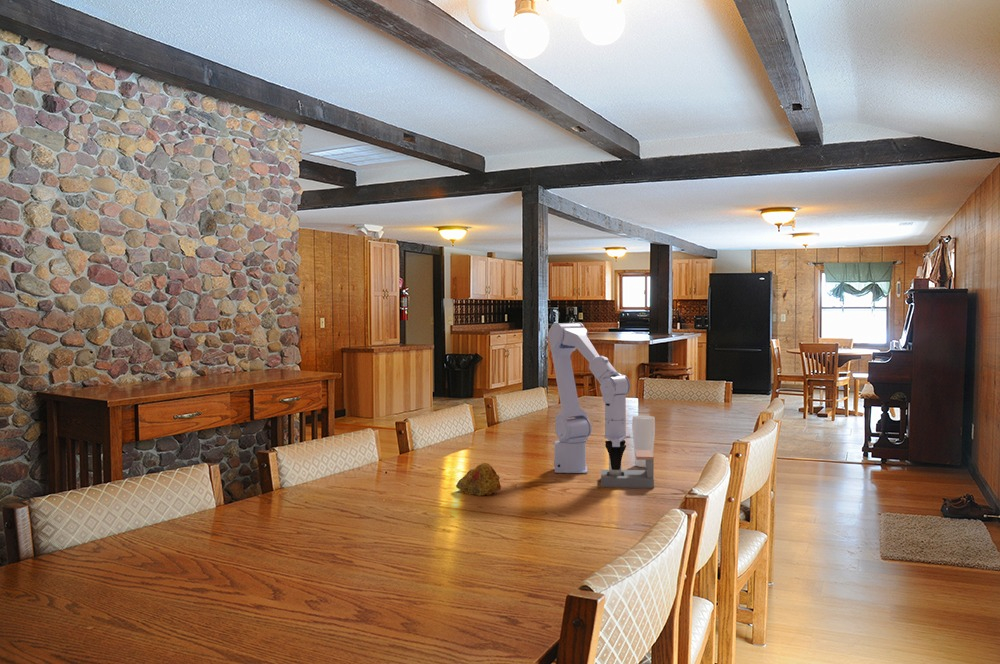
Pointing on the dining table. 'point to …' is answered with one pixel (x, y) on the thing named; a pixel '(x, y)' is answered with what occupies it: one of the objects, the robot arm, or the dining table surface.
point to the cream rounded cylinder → (643, 435)
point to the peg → (614, 471)
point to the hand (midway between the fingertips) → (615, 468)
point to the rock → (480, 481)
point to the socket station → (632, 474)
